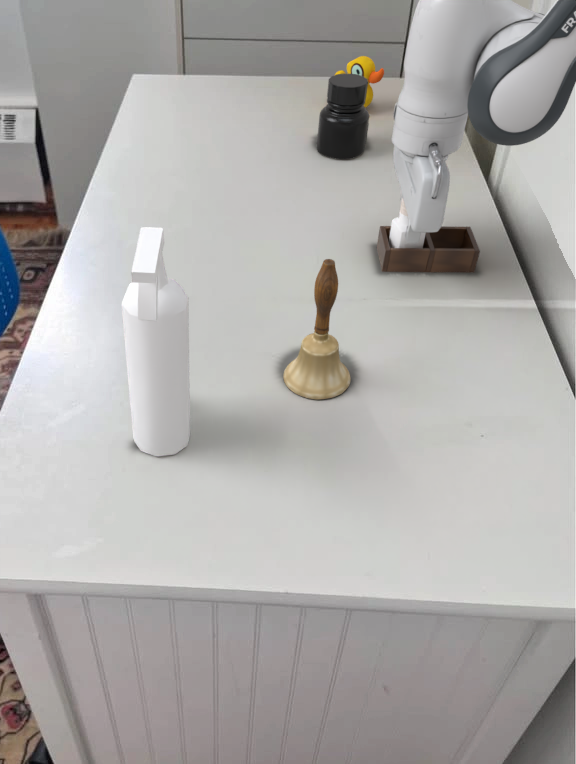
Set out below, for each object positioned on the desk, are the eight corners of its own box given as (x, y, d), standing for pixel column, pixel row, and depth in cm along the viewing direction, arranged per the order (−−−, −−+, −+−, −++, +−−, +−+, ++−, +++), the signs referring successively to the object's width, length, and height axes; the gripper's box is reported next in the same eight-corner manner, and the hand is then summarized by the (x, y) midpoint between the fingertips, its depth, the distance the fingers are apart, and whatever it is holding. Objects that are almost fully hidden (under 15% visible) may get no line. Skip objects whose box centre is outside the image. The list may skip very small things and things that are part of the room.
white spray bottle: (199, 398, 87) (191, 199, 68) (188, 470, 79) (176, 268, 60) (144, 395, 87) (122, 197, 69) (127, 467, 79) (97, 265, 61)
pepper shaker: (420, 267, 104) (433, 204, 97) (394, 270, 104) (405, 208, 97) (409, 253, 107) (421, 191, 100) (384, 256, 106) (394, 194, 99)
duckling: (384, 114, 144) (393, 59, 137) (369, 122, 142) (376, 66, 134) (339, 99, 150) (345, 46, 142) (323, 107, 147) (328, 52, 140)
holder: (462, 254, 108) (470, 226, 105) (472, 280, 103) (480, 251, 100) (375, 254, 109) (380, 225, 105) (380, 279, 104) (385, 250, 100)
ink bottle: (374, 146, 134) (384, 77, 125) (355, 165, 129) (364, 93, 120) (326, 136, 137) (333, 67, 129) (306, 153, 132) (311, 83, 124)
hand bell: (269, 374, 90) (275, 259, 78) (319, 349, 93) (332, 235, 81) (313, 409, 85) (327, 293, 73) (364, 382, 88) (385, 266, 77)
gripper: (469, 164, 84) (443, 269, 95) (439, 98, 98) (419, 196, 108) (415, 164, 85) (395, 269, 95) (393, 98, 98) (377, 196, 109)
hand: (408, 229), depth 102 cm, fingers closed on pepper shaker, 4 cm apart
